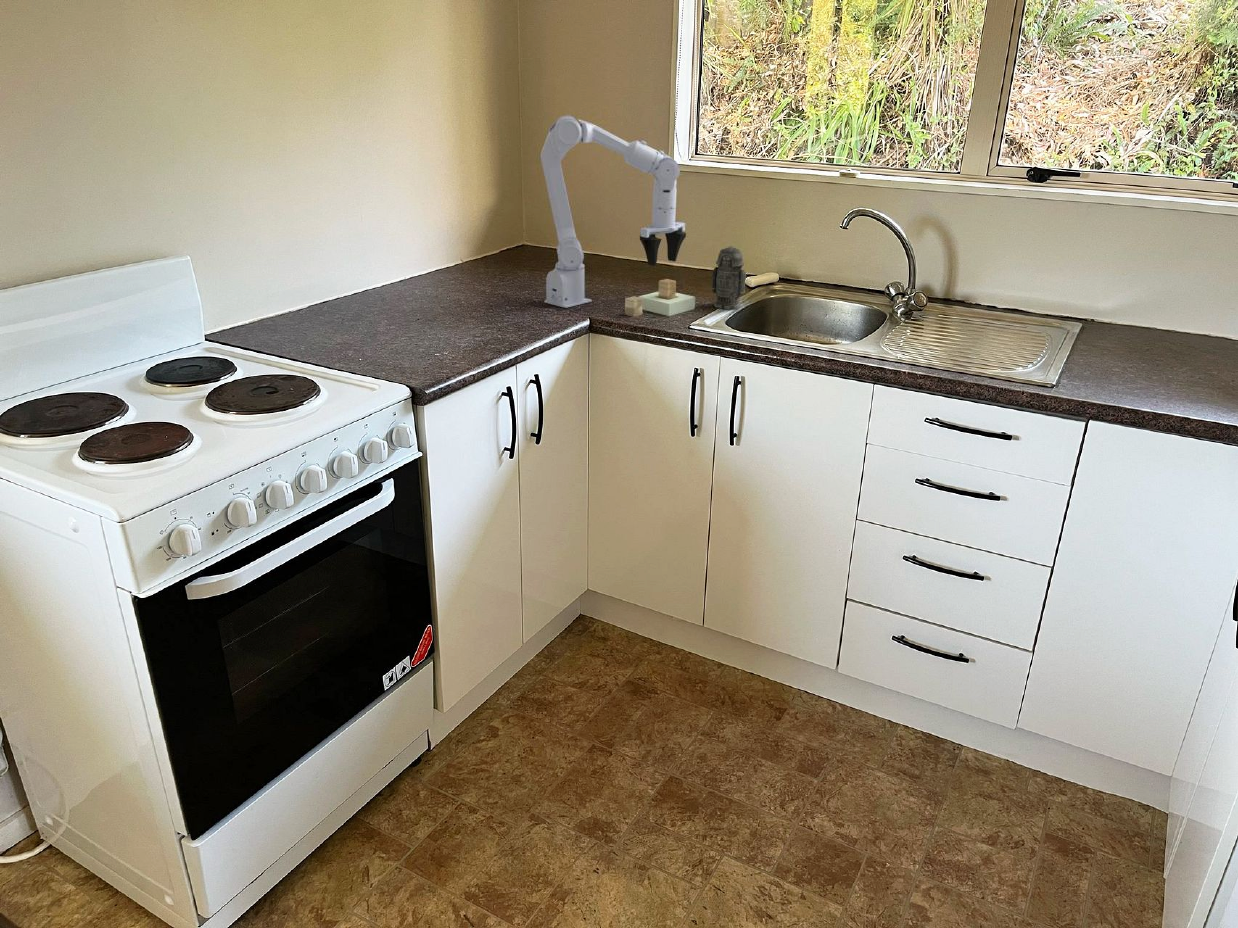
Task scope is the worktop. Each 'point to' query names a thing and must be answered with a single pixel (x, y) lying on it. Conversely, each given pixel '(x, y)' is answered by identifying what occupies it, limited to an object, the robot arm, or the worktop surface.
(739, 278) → the toy
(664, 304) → the socket
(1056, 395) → the worktop surface
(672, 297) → the long pin
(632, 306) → the short pin
